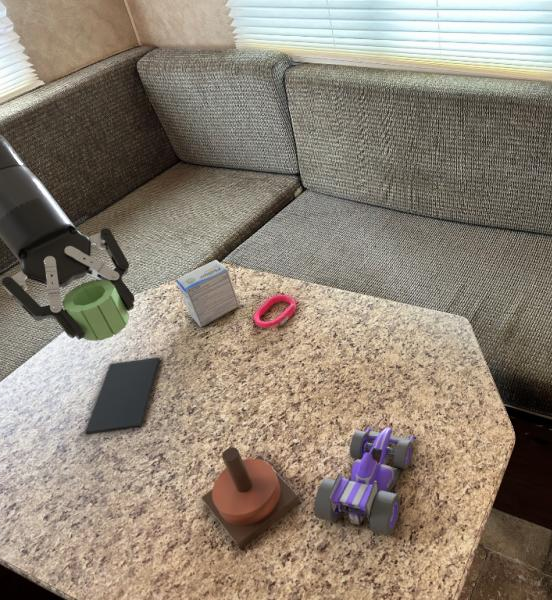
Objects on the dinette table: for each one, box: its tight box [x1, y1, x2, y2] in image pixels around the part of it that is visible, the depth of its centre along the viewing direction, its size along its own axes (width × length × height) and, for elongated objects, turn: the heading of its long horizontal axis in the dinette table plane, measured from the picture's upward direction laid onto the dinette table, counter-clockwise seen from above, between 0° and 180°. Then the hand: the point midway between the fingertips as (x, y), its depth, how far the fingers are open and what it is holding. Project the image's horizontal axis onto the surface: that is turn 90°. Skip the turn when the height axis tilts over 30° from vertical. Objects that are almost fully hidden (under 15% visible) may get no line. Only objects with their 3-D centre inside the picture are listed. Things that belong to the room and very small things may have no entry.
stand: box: [200, 447, 301, 551], centre depth 75 cm, size 9×9×10 cm
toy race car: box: [313, 426, 415, 537], centre depth 77 cm, size 10×15×6 cm, turn 162°
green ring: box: [61, 278, 130, 342], centre depth 76 cm, size 6×6×5 cm
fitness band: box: [253, 294, 297, 329], centre depth 106 cm, size 8×6×2 cm
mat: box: [85, 357, 161, 435], centre depth 95 cm, size 14×8×1 cm, turn 5°
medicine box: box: [175, 259, 241, 328], centre depth 106 cm, size 8×4×9 cm, turn 130°
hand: (106, 322), depth 76 cm, fingers closed on green ring, 6 cm apart
